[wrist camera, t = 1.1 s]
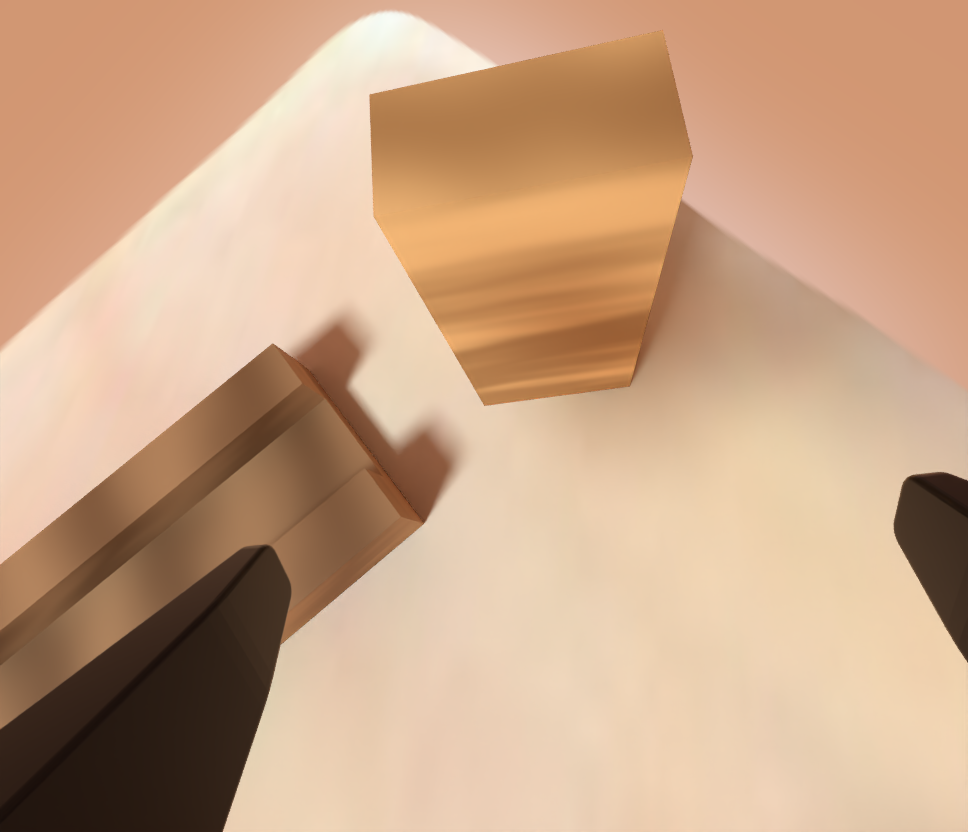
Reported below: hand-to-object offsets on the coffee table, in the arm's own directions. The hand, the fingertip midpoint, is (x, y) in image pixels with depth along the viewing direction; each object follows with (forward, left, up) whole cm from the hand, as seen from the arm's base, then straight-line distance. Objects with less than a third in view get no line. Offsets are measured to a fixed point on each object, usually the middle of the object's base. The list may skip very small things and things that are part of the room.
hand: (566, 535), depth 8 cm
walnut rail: (+7, +15, -13) cm, 21 cm away
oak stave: (+7, -3, -13) cm, 16 cm away
